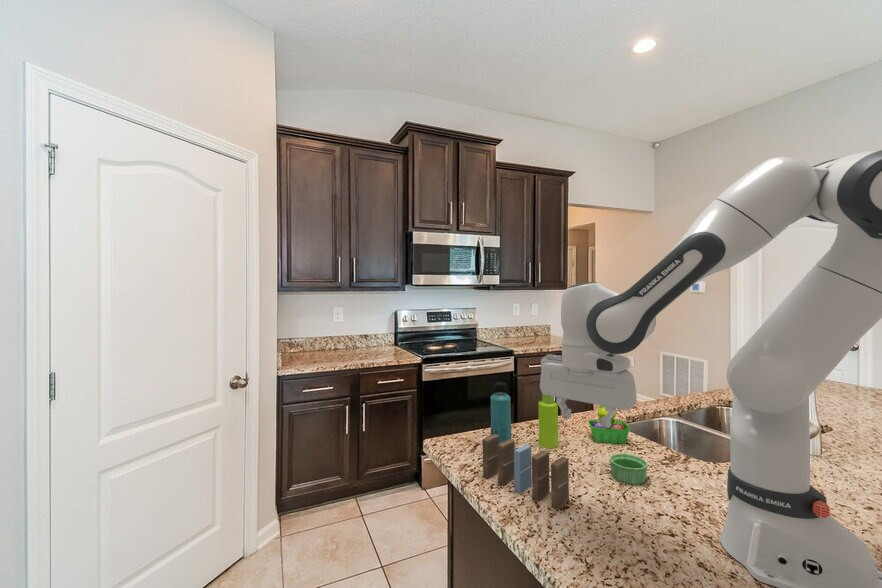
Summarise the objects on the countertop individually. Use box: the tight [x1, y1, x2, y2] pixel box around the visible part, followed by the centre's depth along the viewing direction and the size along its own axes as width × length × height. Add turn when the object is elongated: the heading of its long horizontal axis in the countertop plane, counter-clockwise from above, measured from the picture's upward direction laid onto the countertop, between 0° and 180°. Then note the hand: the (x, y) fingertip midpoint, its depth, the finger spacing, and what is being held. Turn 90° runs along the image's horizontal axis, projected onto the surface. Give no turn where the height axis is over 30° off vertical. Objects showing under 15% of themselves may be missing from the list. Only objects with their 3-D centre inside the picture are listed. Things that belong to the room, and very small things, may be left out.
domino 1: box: [482, 434, 499, 480], centre depth 101 cm, size 2×5×10 cm, turn 134°
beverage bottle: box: [490, 381, 512, 444], centre depth 119 cm, size 6×7×20 cm
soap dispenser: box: [538, 392, 559, 449], centre depth 120 cm, size 6×7×20 cm
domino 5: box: [550, 456, 570, 512], centre depth 87 cm, size 2×5×10 cm, turn 134°
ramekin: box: [608, 453, 649, 485], centre depth 99 cm, size 9×9×4 cm
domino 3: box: [513, 444, 532, 494], centre depth 94 cm, size 2×5×10 cm, turn 134°
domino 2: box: [497, 438, 516, 487], centre depth 98 cm, size 2×5×10 cm, turn 133°
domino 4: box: [531, 449, 551, 503], centre depth 91 cm, size 2×5×10 cm, turn 134°
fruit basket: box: [587, 405, 631, 445], centre depth 124 cm, size 11×9×11 cm
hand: (585, 421), depth 82 cm, fingers open, 7 cm apart
